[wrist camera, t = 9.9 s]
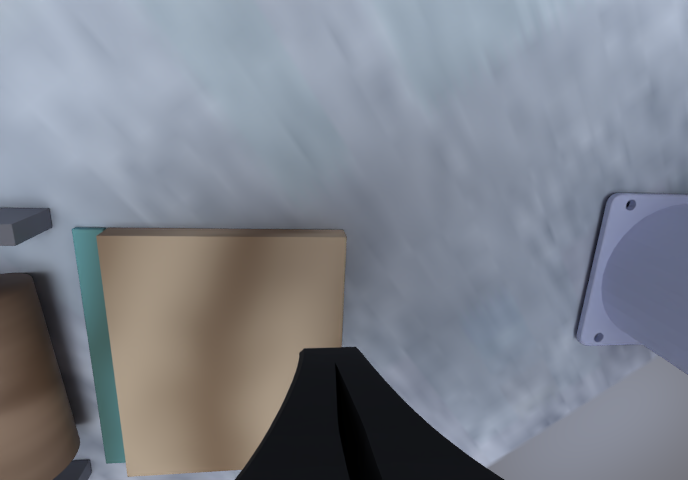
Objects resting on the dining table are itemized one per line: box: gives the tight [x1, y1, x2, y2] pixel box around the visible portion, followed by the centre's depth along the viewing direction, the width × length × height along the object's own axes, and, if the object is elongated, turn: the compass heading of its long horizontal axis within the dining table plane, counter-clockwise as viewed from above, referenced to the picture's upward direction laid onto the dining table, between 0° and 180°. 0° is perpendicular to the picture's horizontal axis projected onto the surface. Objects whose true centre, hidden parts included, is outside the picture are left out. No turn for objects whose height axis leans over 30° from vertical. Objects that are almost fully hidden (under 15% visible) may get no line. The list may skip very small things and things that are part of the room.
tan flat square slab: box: [72, 227, 347, 477], centre depth 20 cm, size 11×12×1 cm
